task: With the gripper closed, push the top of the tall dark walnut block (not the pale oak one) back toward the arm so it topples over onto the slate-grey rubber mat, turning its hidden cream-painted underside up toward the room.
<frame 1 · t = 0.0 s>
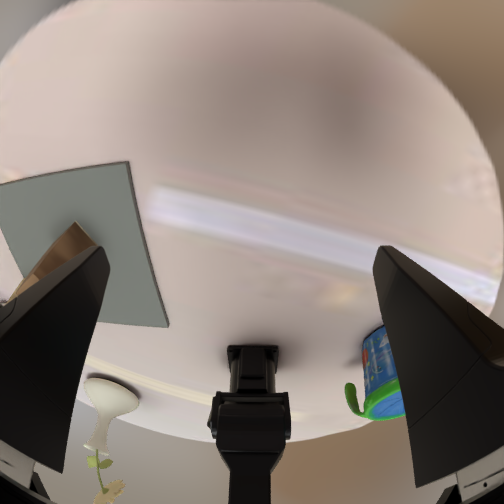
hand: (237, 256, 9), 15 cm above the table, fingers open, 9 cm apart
slate mat: (71, 257, 28), on the table
snack cup: (386, 337, 35), on the table
flower in vase: (116, 386, 47), on the table
walnut block: (76, 245, 26), point 1 cm above the table, touching slate mat
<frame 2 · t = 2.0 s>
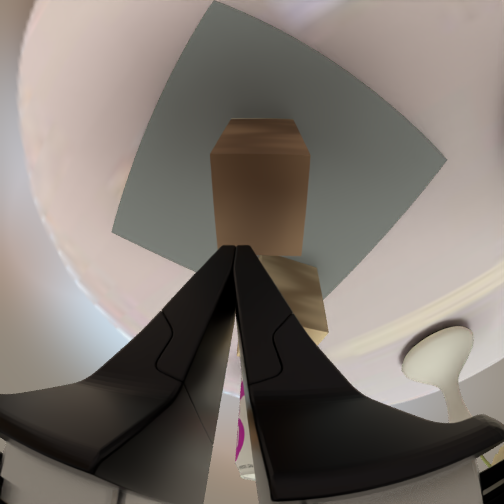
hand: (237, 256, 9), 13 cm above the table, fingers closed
slate mat: (271, 186, 21), on the table
oak block: (278, 280, 26), point 1 cm above the table, touching slate mat
flower in vase: (437, 340, 33), on the table
walnut block: (262, 153, 19), point 1 cm above the table, touching slate mat
supplement can: (274, 363, 35), on the table
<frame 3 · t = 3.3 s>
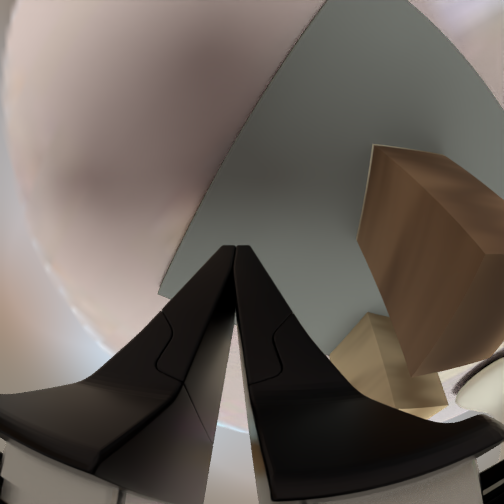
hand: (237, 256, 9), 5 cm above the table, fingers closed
slate mat: (396, 237, 15), on the table
oak block: (374, 340, 19), point 1 cm above the table, touching slate mat
flower in vase: (488, 367, 27), on the table
walnut block: (400, 196, 13), point 1 cm above the table, touching slate mat
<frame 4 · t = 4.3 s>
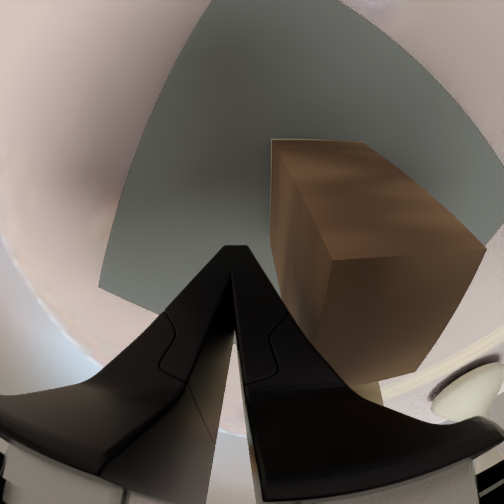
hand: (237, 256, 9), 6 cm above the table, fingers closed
slate mat: (320, 234, 15), on the table
oak block: (316, 342, 20), point 1 cm above the table, touching slate mat
flower in vase: (468, 375, 27), on the table
walnut block: (314, 192, 13), point 1 cm above the table, tilted 6°, touching gripper, slate mat
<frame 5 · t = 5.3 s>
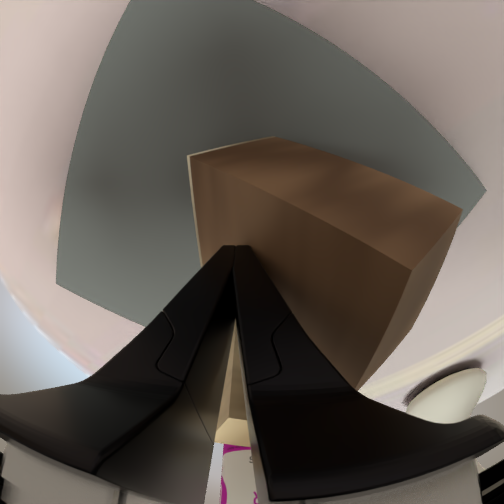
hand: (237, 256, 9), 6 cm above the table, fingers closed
slate mat: (246, 233, 15), on the table
oak block: (260, 342, 20), point 1 cm above the table, touching slate mat
flower in vase: (446, 380, 27), on the table
walnut block: (236, 201, 12), point 2 cm above the table, tilted 40°, touching gripper, slate mat
supplement can: (263, 412, 29), on the table
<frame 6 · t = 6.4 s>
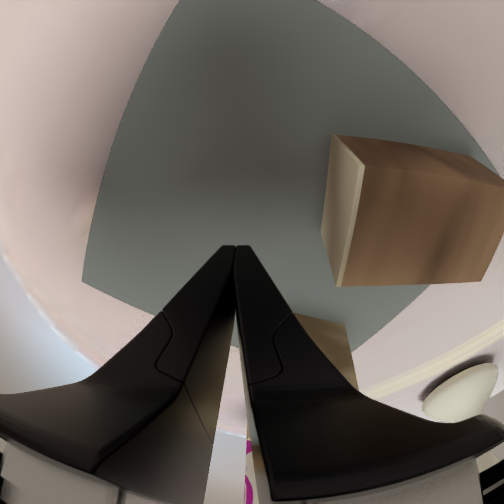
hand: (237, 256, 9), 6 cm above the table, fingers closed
slate mat: (294, 229, 15), on the table
oak block: (296, 339, 20), point 1 cm above the table, touching slate mat
flower in vase: (460, 375, 27), on the table
walnut block: (335, 206, 11), point 3 cm above the table, tilted 90°, touching slate mat
supplement can: (284, 410, 29), on the table
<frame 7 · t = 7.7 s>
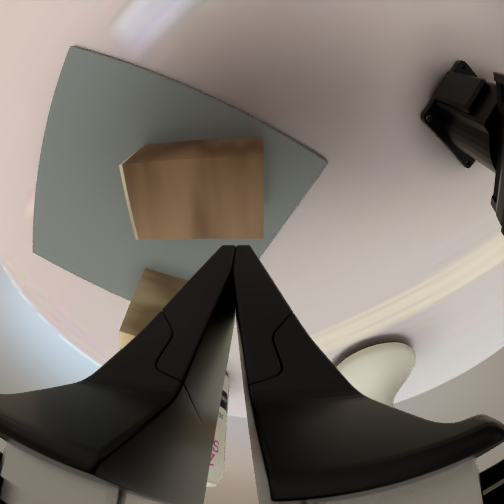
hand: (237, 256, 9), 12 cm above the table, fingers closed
slate mat: (141, 209, 21), on the table
oak block: (168, 295, 26), point 1 cm above the table, touching slate mat
flower in vase: (373, 355, 33), on the table
walnut block: (138, 190, 18), point 3 cm above the table, tilted 90°, touching slate mat
supplement can: (198, 372, 36), on the table
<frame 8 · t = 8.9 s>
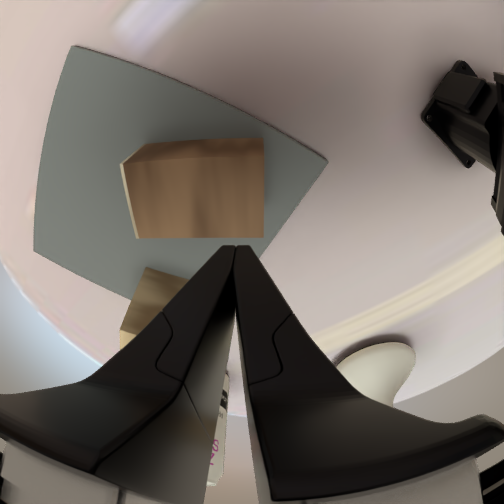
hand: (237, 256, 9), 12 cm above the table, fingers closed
slate mat: (141, 208, 21), on the table
oak block: (168, 294, 26), point 1 cm above the table, touching slate mat
flower in vase: (373, 355, 33), on the table
walnut block: (138, 189, 18), point 3 cm above the table, tilted 90°, touching slate mat
supplement can: (198, 371, 36), on the table
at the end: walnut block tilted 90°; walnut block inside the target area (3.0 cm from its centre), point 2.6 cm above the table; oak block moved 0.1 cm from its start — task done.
